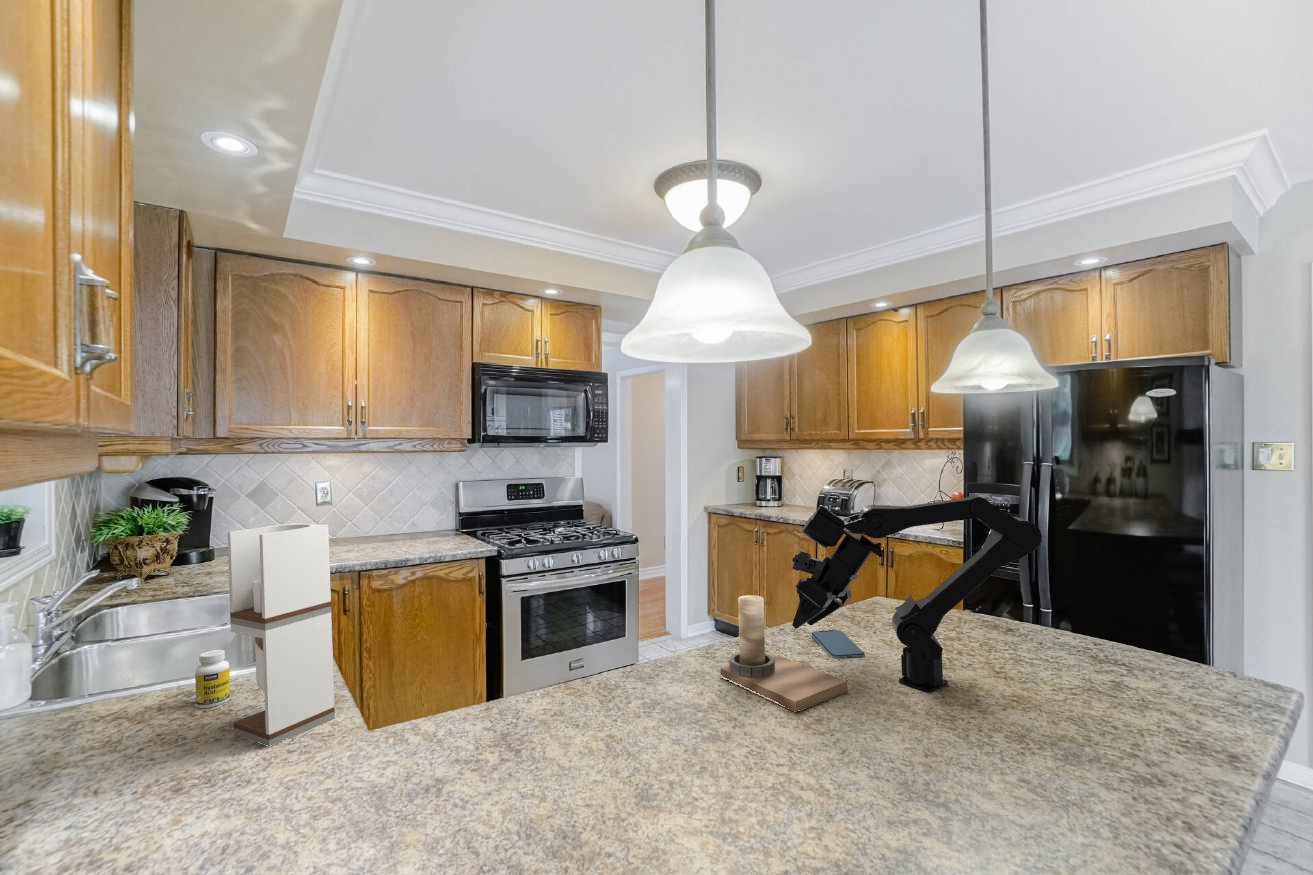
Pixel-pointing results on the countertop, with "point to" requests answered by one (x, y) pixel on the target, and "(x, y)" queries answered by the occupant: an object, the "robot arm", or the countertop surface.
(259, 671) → the display case
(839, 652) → the smartphone
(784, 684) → the stool seat
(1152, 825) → the countertop surface
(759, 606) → the stool leg
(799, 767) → the countertop surface
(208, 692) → the supplement bottle
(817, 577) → the robot arm
